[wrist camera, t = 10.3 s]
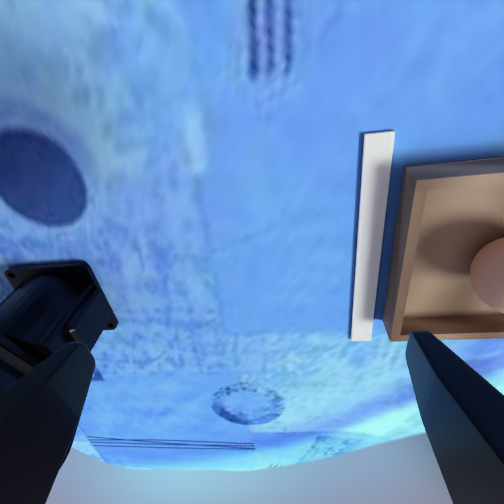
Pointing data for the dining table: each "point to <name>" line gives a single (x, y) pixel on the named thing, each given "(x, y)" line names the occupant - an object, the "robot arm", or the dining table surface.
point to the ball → (489, 274)
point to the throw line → (370, 229)
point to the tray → (444, 250)
